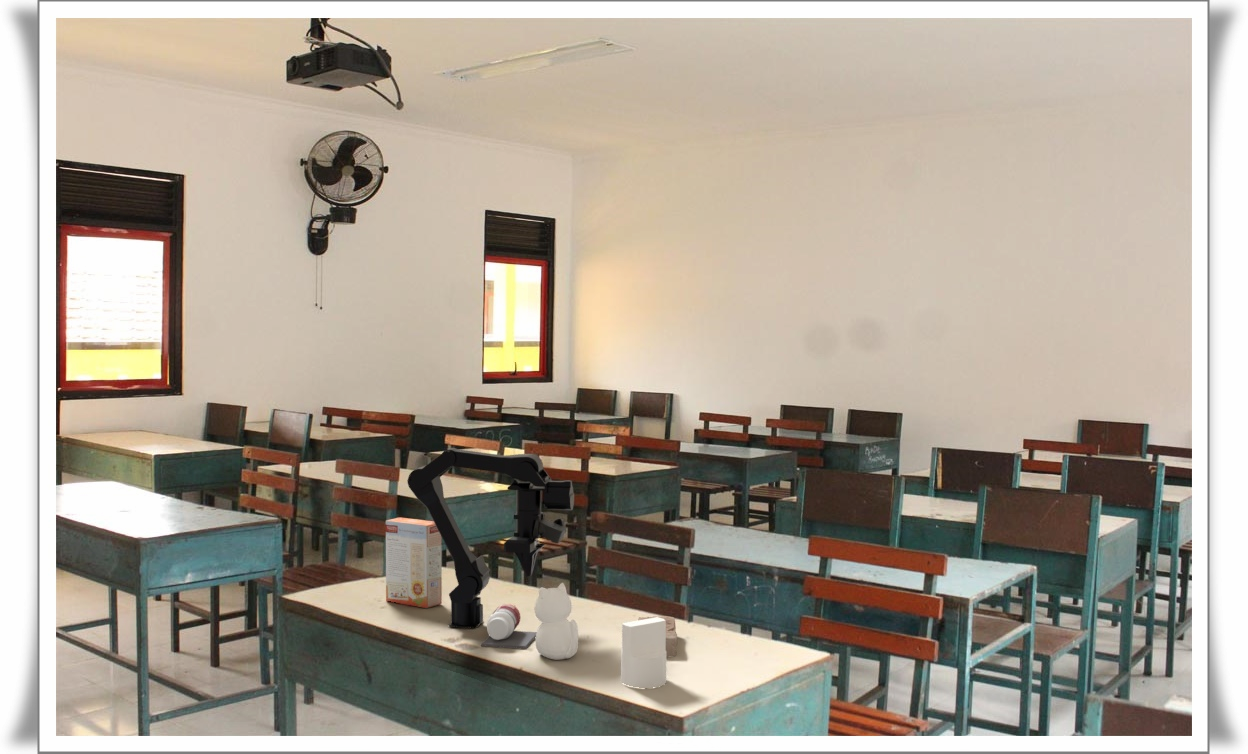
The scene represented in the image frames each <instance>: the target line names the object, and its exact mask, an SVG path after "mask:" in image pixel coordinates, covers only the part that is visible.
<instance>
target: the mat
mask: <svg viewBox="0 0 1248 754" xmlns="http://www.w3.org/2000/svg"><path fill="white" fill-rule="evenodd" d="M536 633H537V631H523V630H514V631H513V633H512V634H511V635H510V636H509V637H508V638H505V639H500V640H496V639H493V638H492V637H490V635H488V636H487V637H486V638H485V639H484V640H483V641H482V642H481V643H480V644H481V645H480V647H482V648H483V647H485V648H489V647H490V648H500V649H501V648H504V649H519V648H521V649H523V650H526V649H527V648H528V647H529V646H530V645H531V643H532V642H533V641H534V640H536V638H535V637H536ZM521 649H520V650H521Z"/></svg>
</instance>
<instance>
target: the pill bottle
mask: <svg viewBox="0 0 1248 754" xmlns="http://www.w3.org/2000/svg"><path fill="white" fill-rule="evenodd" d="M520 622H521V612H520V610H519V609H518V608H517V607H516V605H514V604H512V603H502V604H500V605H499V606H498V607H497V608H496V609H495V610H494V611H493V612H492V613H491V615H490V616H489V617H488V620H487V623H486V628H487V629H486V630H487V634H488V636H490V637H492V638H493V639H496V640H500V639H505V638H508V637H509V636H510V635H511V634H512V633H513V631H516V628H517V627H518V626H519V624H520Z"/></svg>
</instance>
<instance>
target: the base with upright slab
mask: <svg viewBox="0 0 1248 754" xmlns="http://www.w3.org/2000/svg"><path fill="white" fill-rule="evenodd" d="M654 617H655V618H649V619H644V620H638V619H637V620H634V621H628V622H622V623H621V625H622V626H621V651H620V682H621V681H622V683H624V684H626V685H629V686H633V687H639V688H653V687H658V688H660V687H659V686H662V685H664V684H665V683H666V684H667V657H666V620H664V619H662V618H659V617H660V616H654ZM622 683H621V684H622ZM666 684H665V685H666ZM665 685H664V686H665ZM662 687H663V686H662ZM653 689H654V688H653Z"/></svg>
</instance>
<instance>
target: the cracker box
mask: <svg viewBox="0 0 1248 754" xmlns="http://www.w3.org/2000/svg"><path fill="white" fill-rule="evenodd" d="M442 571H443V570H442V537H441V535H440V533H439V531H438V529H437V527H436V525H435V523H434V521H433V520H432V521H431V520H424V519H417V518H407V517H396V518H392V519H386V520H385V601H386V602H388V601H391V602H390V603H394V602H396V603H395V604H401V605H406V606H410V607H411V606H413V607H417V608H423V609H428V608H433V607H435V606H439V605H442V604H443V603H442V601H443V600H442V598H443V596H442V590H443V589H442V588H443V586H442V583H443V582H442V579H443V578H442V576H443V575H442Z"/></svg>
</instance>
